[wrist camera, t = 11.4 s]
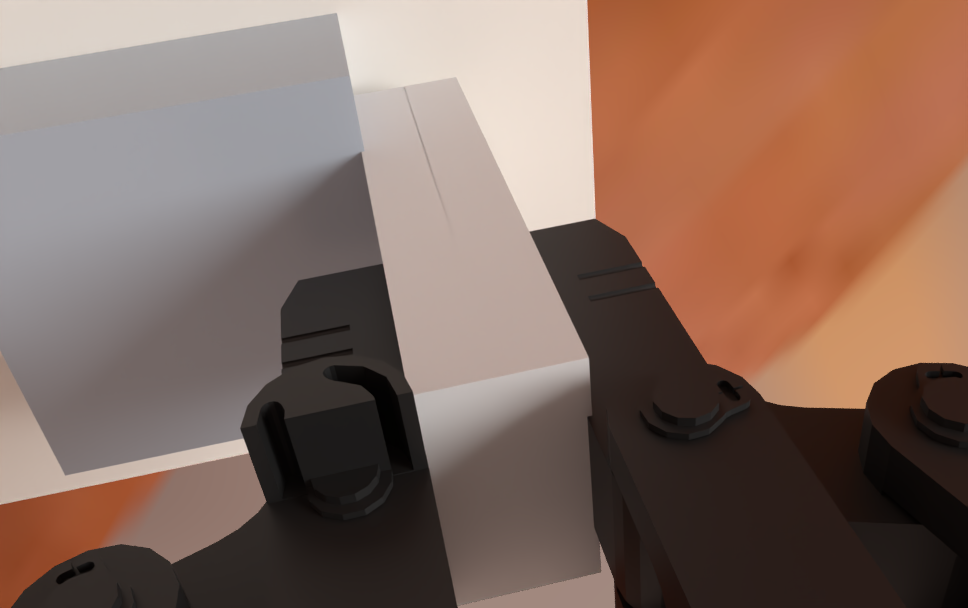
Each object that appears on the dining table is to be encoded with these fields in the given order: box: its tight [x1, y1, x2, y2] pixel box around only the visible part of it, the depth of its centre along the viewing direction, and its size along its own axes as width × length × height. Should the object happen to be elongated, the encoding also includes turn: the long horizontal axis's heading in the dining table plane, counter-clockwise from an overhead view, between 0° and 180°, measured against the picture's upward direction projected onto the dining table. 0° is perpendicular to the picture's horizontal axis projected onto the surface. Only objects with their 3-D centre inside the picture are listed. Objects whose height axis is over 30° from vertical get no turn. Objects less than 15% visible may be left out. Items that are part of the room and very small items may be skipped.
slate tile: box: [0, 13, 383, 476], centre depth 13 cm, size 5×5×2 cm
